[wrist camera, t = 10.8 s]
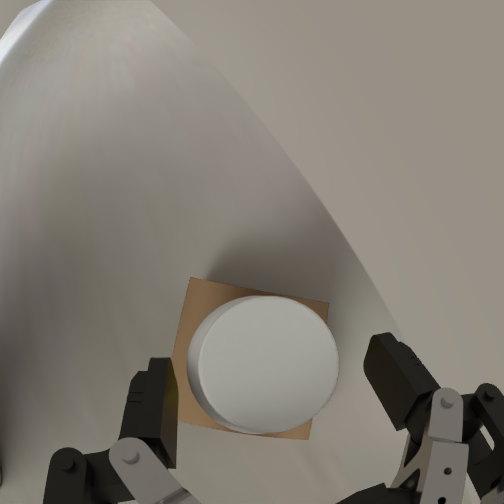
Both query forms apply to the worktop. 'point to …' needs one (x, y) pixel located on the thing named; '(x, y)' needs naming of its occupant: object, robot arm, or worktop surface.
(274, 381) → the supplement bottle
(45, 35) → the worktop surface
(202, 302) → the walnut block
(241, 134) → the worktop surface
